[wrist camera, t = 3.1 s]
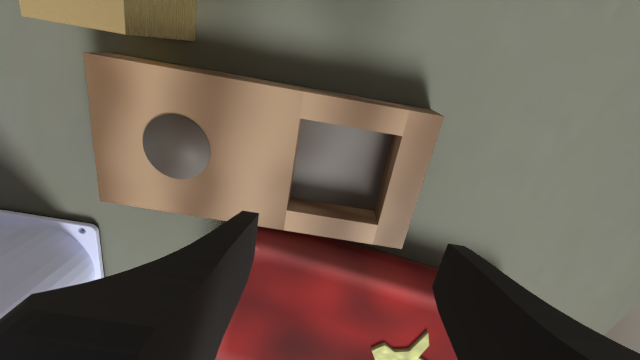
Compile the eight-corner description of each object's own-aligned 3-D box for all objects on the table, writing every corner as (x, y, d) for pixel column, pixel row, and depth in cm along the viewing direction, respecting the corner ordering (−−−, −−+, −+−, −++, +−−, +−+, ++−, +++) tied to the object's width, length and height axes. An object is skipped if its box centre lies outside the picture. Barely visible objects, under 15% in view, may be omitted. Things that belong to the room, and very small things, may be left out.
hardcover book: (247, 205, 23) (231, 235, 19) (497, 281, 25) (528, 323, 21) (216, 319, 28) (197, 362, 24) (431, 377, 30) (447, 426, 26)
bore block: (123, 185, 22) (98, 201, 20) (113, 52, 19) (82, 52, 17) (394, 229, 23) (402, 250, 21) (430, 109, 20) (444, 116, 17)
